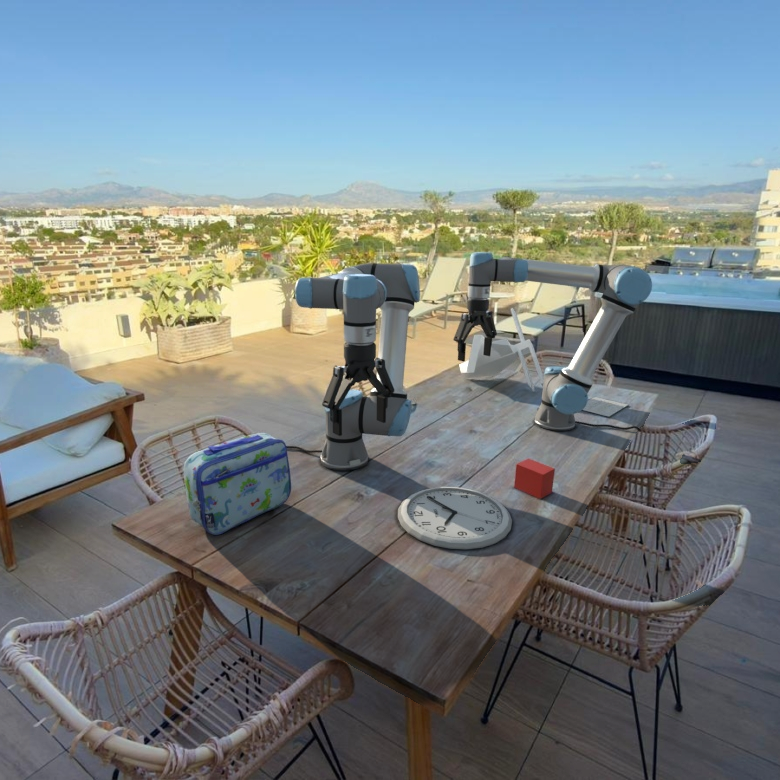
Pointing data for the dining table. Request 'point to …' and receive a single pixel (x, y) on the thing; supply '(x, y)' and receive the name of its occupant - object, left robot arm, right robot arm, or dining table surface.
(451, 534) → the wall clock
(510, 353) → the white plastic object
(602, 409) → the invitation card
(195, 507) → the lunch box
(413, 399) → the fork
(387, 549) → the dining table surface
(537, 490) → the block
